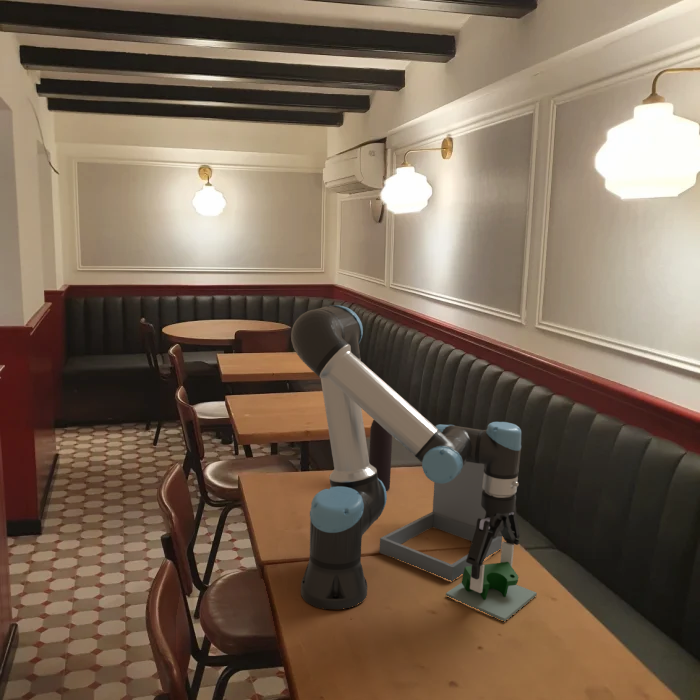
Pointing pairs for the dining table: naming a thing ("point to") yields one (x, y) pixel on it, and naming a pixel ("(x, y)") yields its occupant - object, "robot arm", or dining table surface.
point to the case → (445, 523)
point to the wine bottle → (381, 452)
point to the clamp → (493, 578)
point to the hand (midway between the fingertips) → (491, 579)
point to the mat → (494, 600)
